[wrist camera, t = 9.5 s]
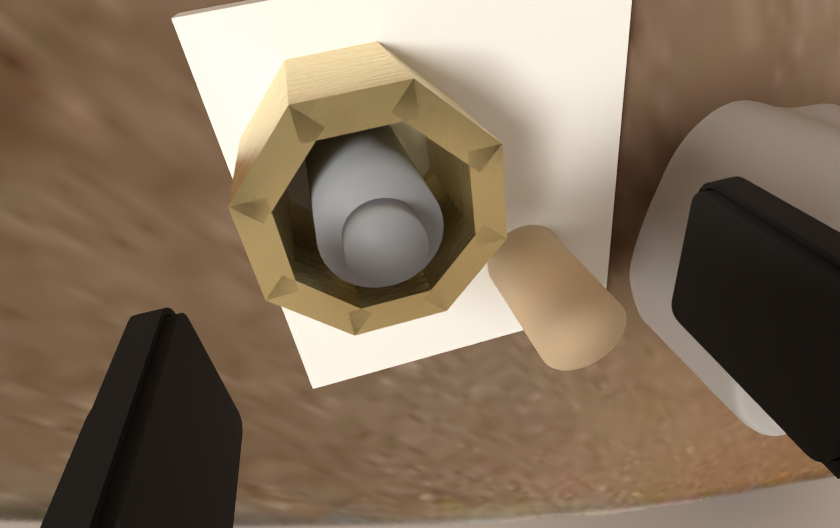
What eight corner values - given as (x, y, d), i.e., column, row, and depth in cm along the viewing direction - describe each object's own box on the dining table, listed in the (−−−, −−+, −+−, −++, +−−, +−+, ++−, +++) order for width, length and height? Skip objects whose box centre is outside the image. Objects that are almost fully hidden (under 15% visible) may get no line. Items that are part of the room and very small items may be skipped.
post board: (616, -68, 16) (819, -71, 10) (591, 292, 25) (695, 408, 19) (178, 12, 15) (109, 65, 9) (311, 369, 23) (324, 524, 17)
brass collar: (439, 28, 16) (498, 61, 12) (460, 219, 19) (509, 293, 15) (216, 73, 15) (194, 124, 11) (284, 262, 19) (286, 353, 15)
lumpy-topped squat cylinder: (877, 104, 23) (1143, 178, 16) (753, 328, 30) (902, 448, 23) (686, 96, 20) (905, 180, 13) (598, 343, 27) (712, 485, 20)
